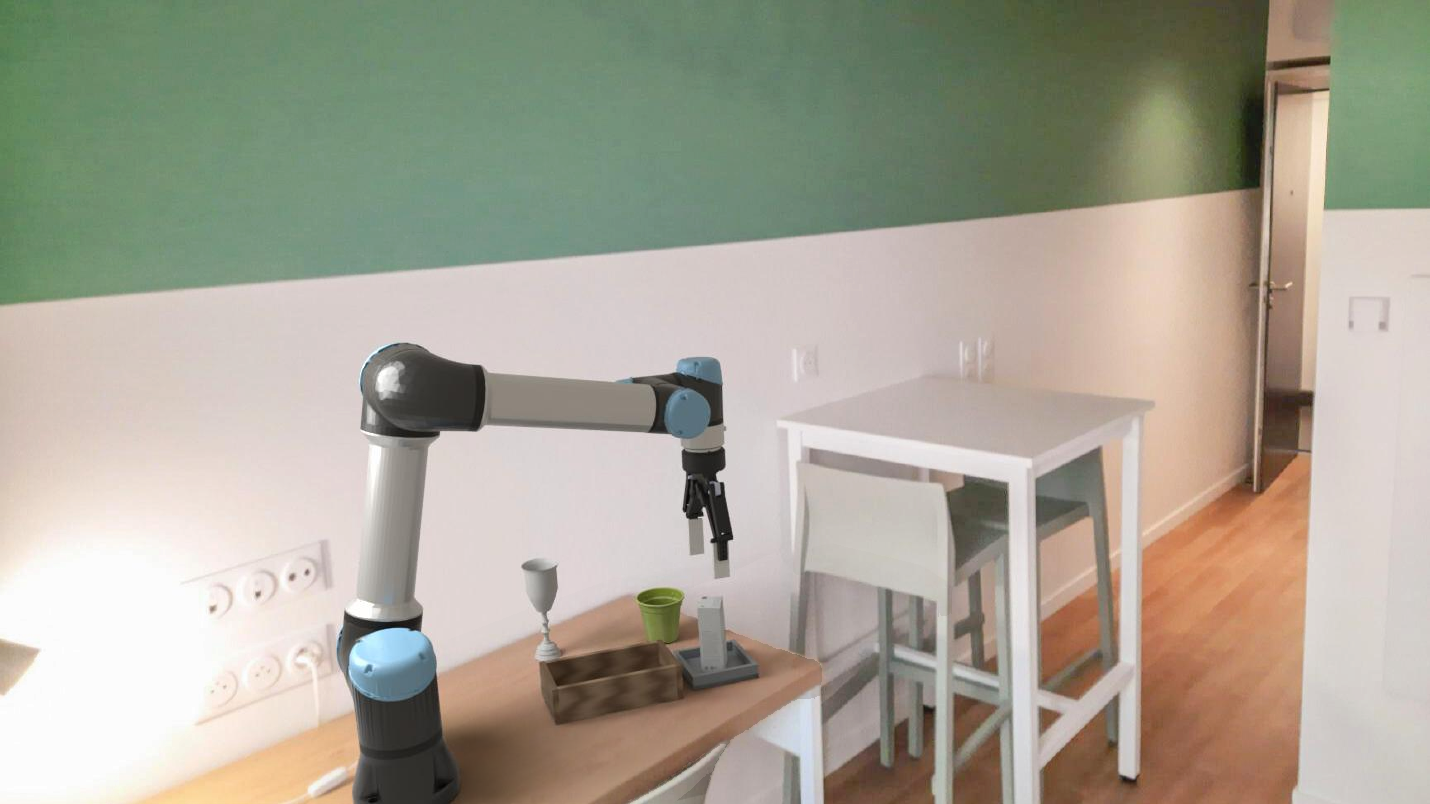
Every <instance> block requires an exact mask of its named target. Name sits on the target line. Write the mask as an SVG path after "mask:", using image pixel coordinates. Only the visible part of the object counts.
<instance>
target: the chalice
mask: <svg viewBox="0 0 1430 804" xmlns="http://www.w3.org/2000/svg"><path fill="white" fill-rule="evenodd" d="M558 565H559V560H558V559H556V558H553V557H538V558H533V559H530V560H527V561H525V562H523V563H522V564H521V567H520V568H521V569H522V571H523V572H524V580H525V590H526V591H525V592H526V595H527V596H528V599H529V601H530V603H531V605H532V606H533V607H534V609H535V611H536V612H538V613H541V614H540V615H541V620H540V623H541V624H542V629H541V631H540V632H541V634H542V635H543V640H542V641H541V642H539V644H538V645H537V646H536V650H535V653H534V656H533V657H534V659H535V660H536V661H539V662H542V661H547V660H553V659H558V658H561V656H562V652H561V651H560V648H559V647H558V645H557V643H556V642H555V641H553V640H551V639H550V637H549V636H550V632H551V629H549V627H548V626H549V623H550V621H549V619H548V614H547V613H548V612H549V611H551V610H552V607H553V605H554V603H555V601H556V597H557V592H558V589H559V583H558V572H557V568H558Z"/></svg>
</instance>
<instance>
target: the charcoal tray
mask: <svg viewBox="0 0 1430 804" xmlns="http://www.w3.org/2000/svg"><path fill="white" fill-rule="evenodd" d="M726 645H727V657H728V660H727V666H726V669H721V670H716V671H711V672H706V673H704V672H702V667H701V654H700V645H697V646H693V647H687V648H682V649H676V650H672V654H673V655H674V656H675V658H676V659H677V660H678V662H679V663H680V664H681V666H682V678H683V679H684V680H685V681H686V683H687V684H688V685H689V686H690V688H691V689H692V691H695V692H696V691H700V690H704V689H710V688H714V687H718V686H719V687H720V686H723V685H729V684H734V683H739V682H745V681H749V679H750V680H754V679H759V678H760V675H759V674H760V673H759V672H760V671H759V664H758V662H757V661H756V660H755V659H754V658H753V657H752V656H751V655H750V654H749V653H748V652H747V651H746V650H745V649H744V647H743V646H741V644H740V643H739V642H738V641H737V640H736V639H729V640H726ZM753 678H754V679H753Z"/></svg>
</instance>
